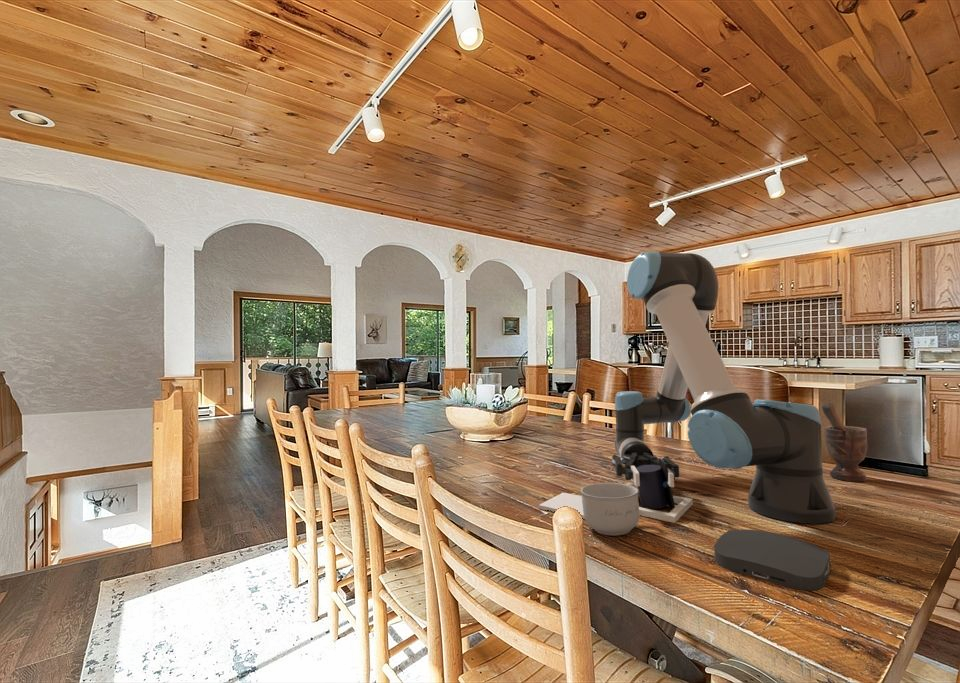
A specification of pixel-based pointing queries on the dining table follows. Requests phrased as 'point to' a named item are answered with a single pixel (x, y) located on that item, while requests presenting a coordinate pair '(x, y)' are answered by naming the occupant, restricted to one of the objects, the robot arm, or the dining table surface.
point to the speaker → (655, 486)
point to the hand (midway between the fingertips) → (654, 480)
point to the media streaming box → (774, 558)
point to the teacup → (611, 507)
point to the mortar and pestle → (845, 446)
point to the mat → (564, 502)
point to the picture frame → (673, 515)
